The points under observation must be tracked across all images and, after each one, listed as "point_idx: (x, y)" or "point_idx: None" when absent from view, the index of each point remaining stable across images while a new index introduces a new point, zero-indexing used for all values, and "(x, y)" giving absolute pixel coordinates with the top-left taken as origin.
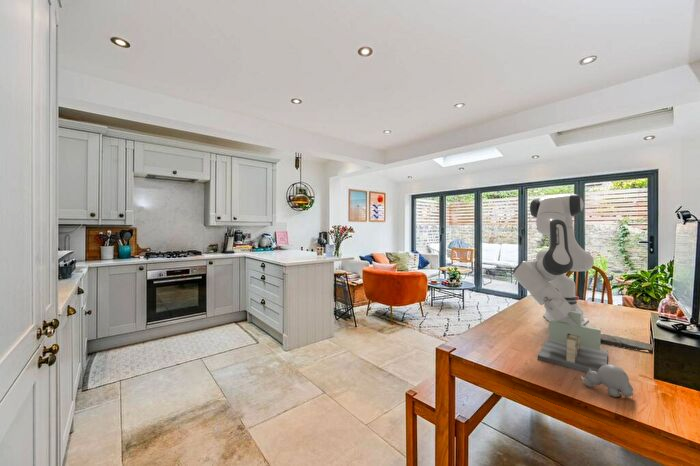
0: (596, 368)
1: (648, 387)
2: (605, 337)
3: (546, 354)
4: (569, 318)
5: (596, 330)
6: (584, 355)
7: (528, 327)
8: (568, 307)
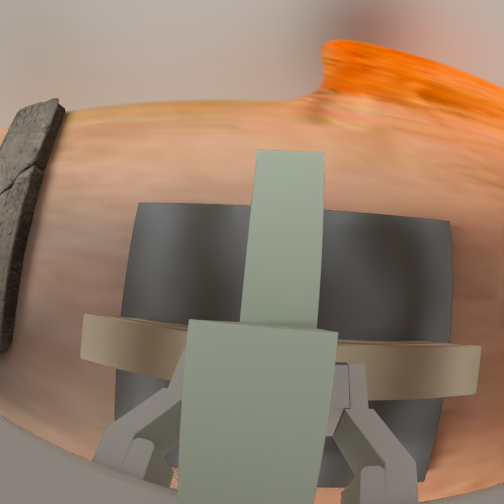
0: (426, 253)
1: (412, 118)
2: (2, 212)
3: None
4: (408, 460)
5: (323, 186)
6: None
7: None
8: (48, 490)
